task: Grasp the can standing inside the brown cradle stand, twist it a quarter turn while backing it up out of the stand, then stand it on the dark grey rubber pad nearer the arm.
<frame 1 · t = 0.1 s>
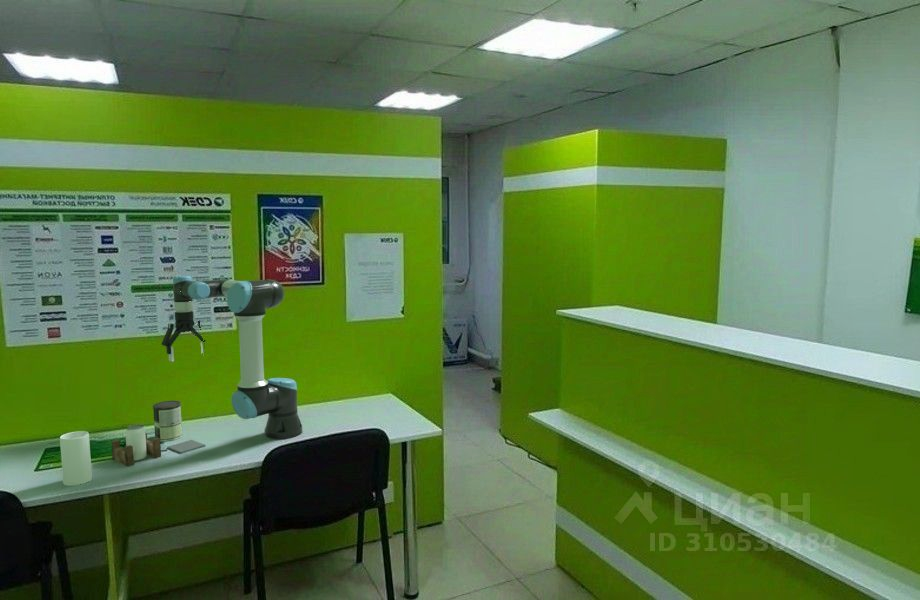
hand: (186, 358, 267), 28 cm above the table, fingers open, 13 cm apart
pad: (186, 447, 235), on the table
can: (137, 458, 224), on the table
cup: (77, 481, 204), on the table
brown cradle stand: (137, 458, 224), on the table
coffee can: (168, 437, 247), on the table
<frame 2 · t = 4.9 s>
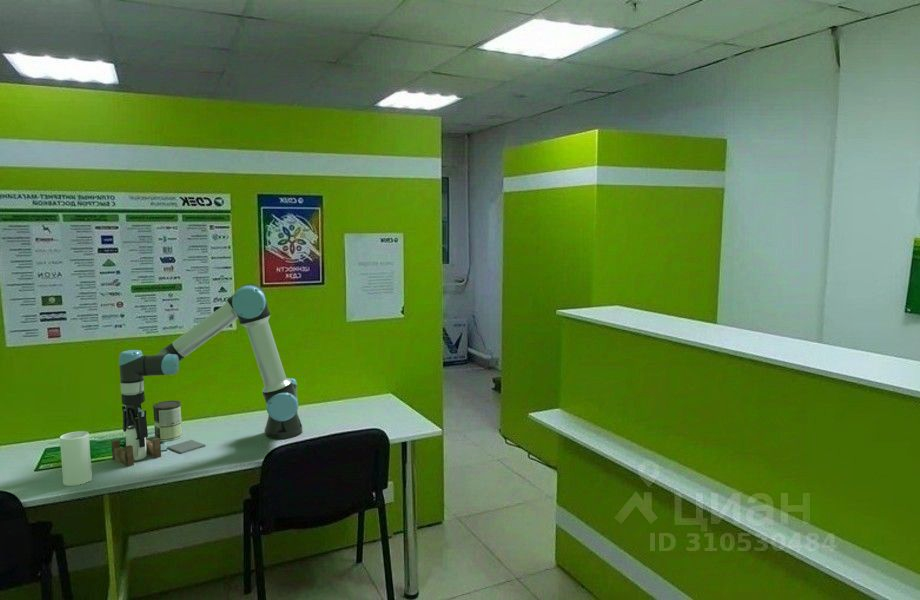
hand: (136, 452, 224), 2 cm above the table, fingers closed on can, 6 cm apart
can: (137, 458, 224), on the table, touching gripper
everything else where it was.
when the fingers open (4 cm above the table, at t = 11.1 s): can drops 1 cm, resting on pad.
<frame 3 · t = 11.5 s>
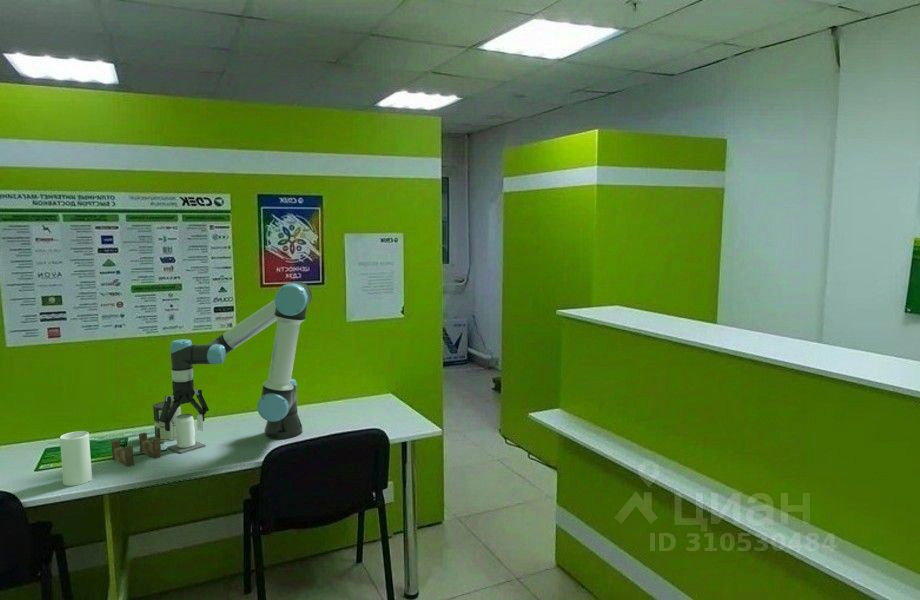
hand: (185, 434, 235), 5 cm above the table, fingers open, 11 cm apart
can: (186, 446, 235), resting on pad
everything else where it was.
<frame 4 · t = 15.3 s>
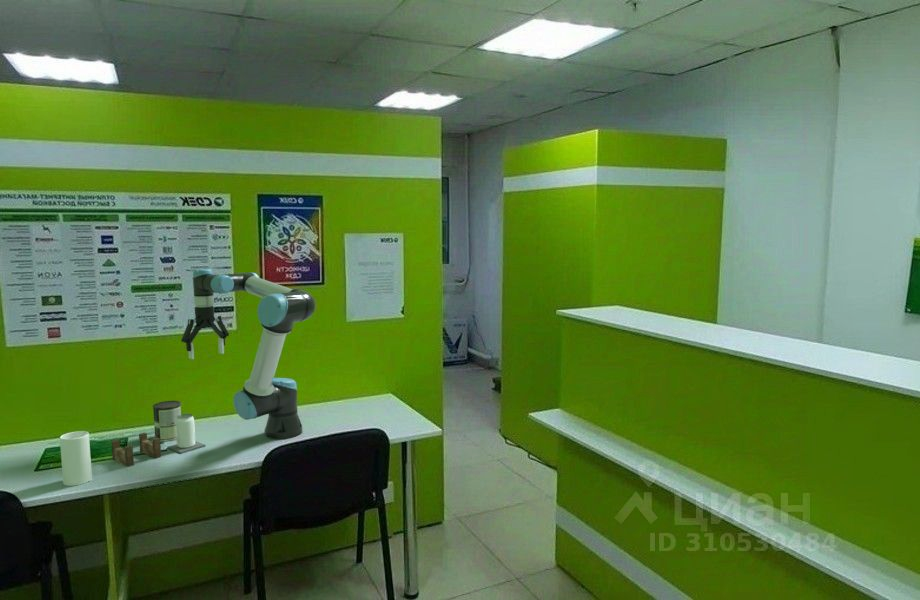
hand: (206, 356, 254), 32 cm above the table, fingers open, 13 cm apart
nothing on the table moved.
at the end: can inside the target area on the pad (0.1 cm from its centre), point 0.4 cm above the pad's base; can tilted 0°; the gripper is holding nothing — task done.
